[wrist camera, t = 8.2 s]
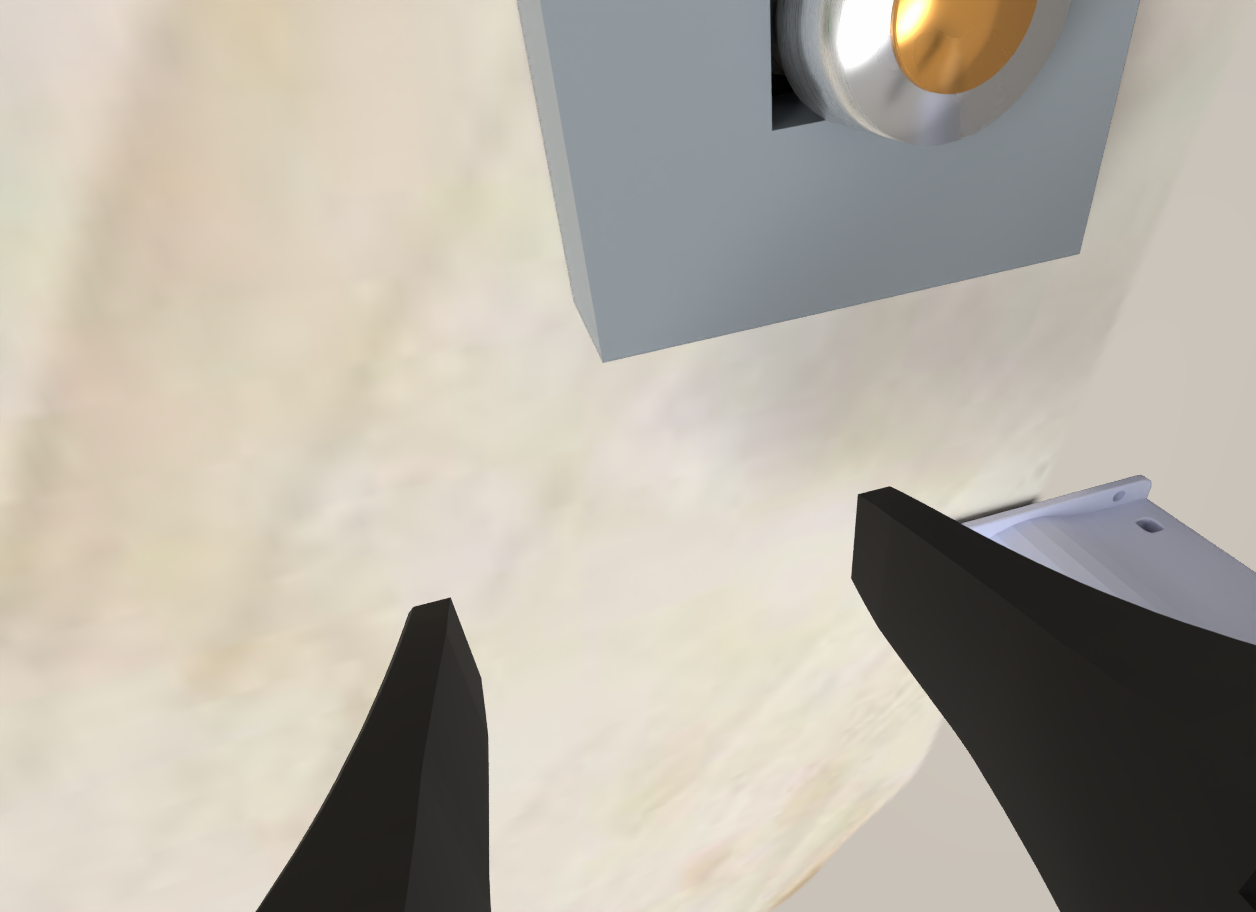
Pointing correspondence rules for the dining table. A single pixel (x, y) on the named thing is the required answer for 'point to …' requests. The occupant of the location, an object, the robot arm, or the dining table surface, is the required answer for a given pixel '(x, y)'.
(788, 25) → the pin
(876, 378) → the dining table surface
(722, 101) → the block
